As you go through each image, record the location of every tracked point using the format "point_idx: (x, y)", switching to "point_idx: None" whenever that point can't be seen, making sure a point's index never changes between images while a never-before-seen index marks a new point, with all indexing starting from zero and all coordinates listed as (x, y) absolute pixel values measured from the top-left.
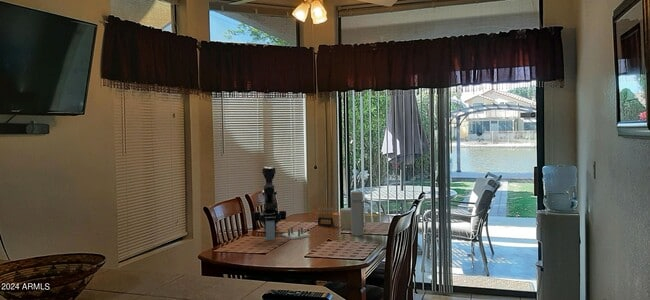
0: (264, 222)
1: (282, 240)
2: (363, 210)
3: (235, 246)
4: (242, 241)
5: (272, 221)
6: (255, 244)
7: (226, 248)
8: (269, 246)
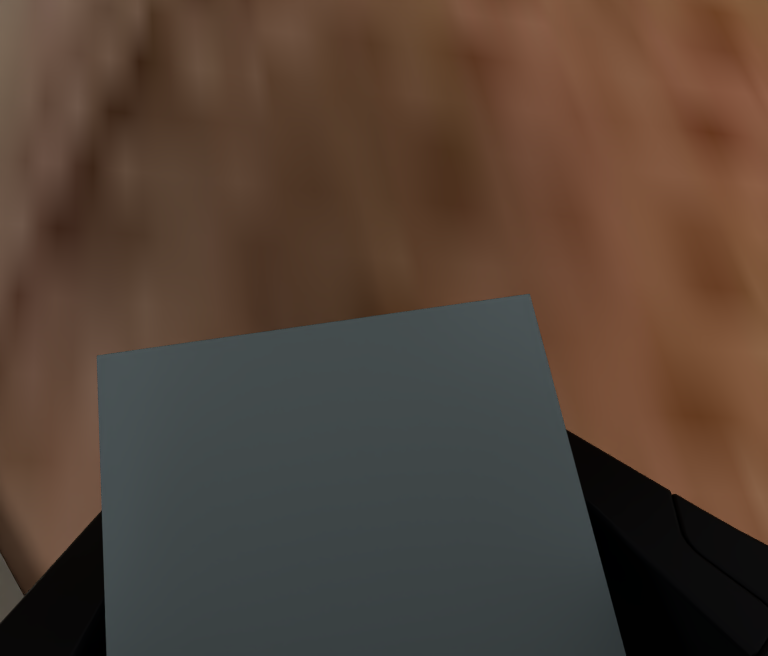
0: (617, 495)
1: None
2: None
3: (707, 75)
4: (738, 331)
5: (226, 566)
6: (499, 139)
7: (761, 8)
8: (289, 18)
